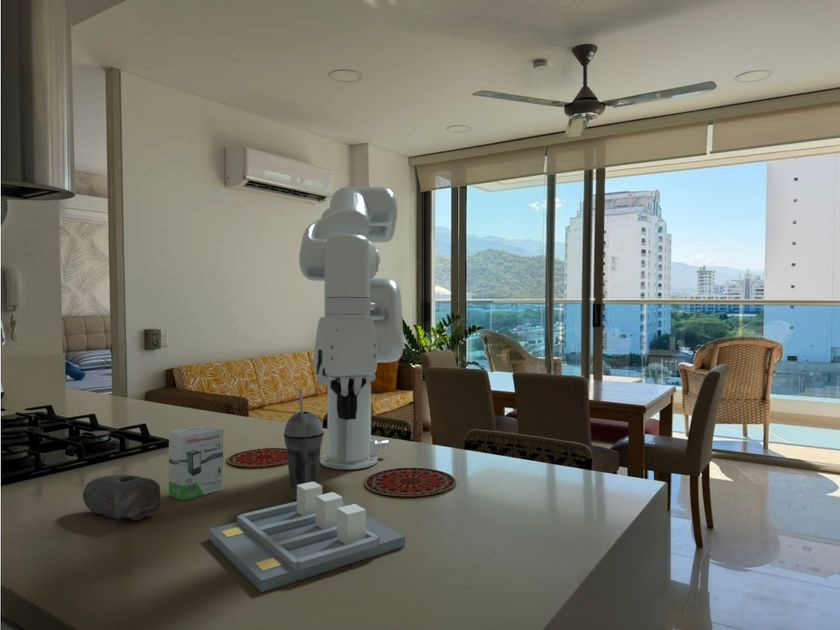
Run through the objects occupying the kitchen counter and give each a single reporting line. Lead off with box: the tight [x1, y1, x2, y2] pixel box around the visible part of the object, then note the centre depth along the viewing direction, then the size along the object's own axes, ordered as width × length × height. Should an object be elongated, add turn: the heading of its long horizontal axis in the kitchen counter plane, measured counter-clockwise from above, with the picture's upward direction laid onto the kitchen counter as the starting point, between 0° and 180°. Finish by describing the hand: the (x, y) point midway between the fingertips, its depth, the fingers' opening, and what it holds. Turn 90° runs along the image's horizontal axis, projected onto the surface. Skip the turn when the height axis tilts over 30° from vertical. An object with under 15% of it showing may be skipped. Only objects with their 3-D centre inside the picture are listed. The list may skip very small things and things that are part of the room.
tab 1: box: [296, 481, 323, 516], centre depth 94 cm, size 3×3×4 cm
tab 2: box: [316, 491, 344, 529], centre depth 89 cm, size 3×3×4 cm
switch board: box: [208, 501, 406, 593], centre depth 87 cm, size 22×21×2 cm
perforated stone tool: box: [82, 474, 162, 521], centre depth 97 cm, size 15×5×7 cm, turn 68°
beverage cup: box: [283, 388, 325, 501], centre depth 106 cm, size 7×7×20 cm
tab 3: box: [337, 503, 367, 544], centre depth 84 cm, size 3×3×4 cm
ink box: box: [168, 425, 224, 501], centre depth 108 cm, size 9×5×12 cm, turn 140°
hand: (347, 418), depth 97 cm, fingers closed
